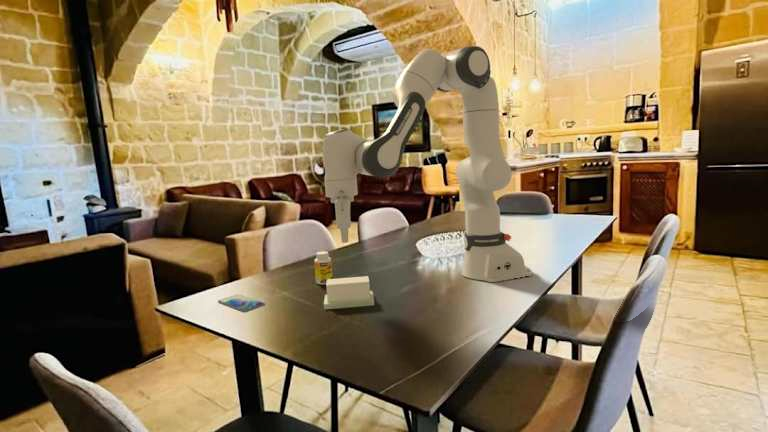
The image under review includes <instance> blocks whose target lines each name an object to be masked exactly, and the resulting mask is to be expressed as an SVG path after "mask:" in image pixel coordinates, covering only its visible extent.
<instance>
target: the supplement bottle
mask: <svg viewBox="0 0 768 432" xmlns="http://www.w3.org/2000/svg"><path fill="white" fill-rule="evenodd" d="M315 255H316V257H315V259H314V261H313V262H314V272H315V273H314V274H315V283H316V284H318V285H322V286H323V285H326V283H327V279H333V268H332V267H333V266H332V265H333V264H332V258H331V257H330V255H329V252H328V251H323V250H322V251H318V252H316V253H315Z"/></svg>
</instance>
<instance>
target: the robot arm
mask: <svg viewBox="0 0 768 432" xmlns="http://www.w3.org/2000/svg"><path fill="white" fill-rule="evenodd" d="M491 74H492V73H491V62H490V58H489V56H488V54H487V52H486V50H485V49H483V47H481V46H477V45H470V46H465V47H463V48H459V49H455V50H453V51H451V52H449V53H447V54H446V55H442V54H441V53H440V52H438V50H435V49H432V48H426V49H422V50H421V51H420V52H418V54H417V55H416V56H414V57H413V58H412V60H411V61H410V62H409V63H408V64H407V66H406V67H405V68H404V69H403V71H402V72H401V73H400V76H399V77H398V78H397V80H396V81H395V84H394V86H393V89H392V91H391V97H392V98H391V99H392V100H393V102H394V105H395V106H396V108H397V111H396V113H395V114H394V116H393V118H392V119H391V122H390V124H389V125H388V127H387V129H386V131H385V132H384V133H383V134H382V135H381V136H379V137H378V138H375V139H373V140H371V139H370V140H369V139H368V138H364V137H362V136H359V135H358V134H356V133H354V132H353V131H352V130H351V129H350V128H349V129H348V128H344V129H343V128H342V129H339V130H333V131H329V132H328V133H326V134H325V135H324V136H323V138H322V163H323V164H322V165H323V167H324V168H323V169H324V173H325V174H324V188H325V189H324V191H325V197H326V198H329V199H330V203H331V204H334V208H335V209H334V210H335V223H336V228H337V229H340V230H339V231H340V232H339V233H340V235H341V236H340V238H341V242H342V244H344V243H345V244H346V243H349V229H350V228H351V225H352V221H351V202H354V201H355V199H354V198H355V196H357V195H359V193H358V192H359V190H358V179H357V177H358V176H357V175H358V174H361V175H365V176H371V177H372V176H374V177H376V178H380V179H386V178H389V177H392V176H393V175H395V173H397V172H398V170H399V168H400V167H401V164H402V162H403V161H402V160H403V155H404V152H405V148H406V146H407V144H408V142H409V140H410V138H411V136H412V135H413V133H414V131H415V129H416V128H417V126H418V123H419V122H420V120H421V118H422V116H423V114H424V111H425V109H426V107H427V105H428V104H429V103H430V101H431V99H432V98H433V96H434V95H435V93H436V92H437V91H439V92H444V93H447V92H448V93H449V92H452V91H459V93H460V94H461V96H462V97H461V98H462V100H463V101H462V126H463V129H462V130H463V131H462V132H463V140H464V141H465V143H466V146H467V148H468V149H467V150H468V152H469V156H468V157H466V158H464V159H462V160H461V161H459V162H458V164H457V166H456V168H455V177H456V179H457V181H458V183H459V187H460V192H461V196H462V200H463V207H464V218H465V219H464V222H465V223H464V225H465V232H464V236H463V245H464V250H465V252H464V261H463V266H462V267H463V268H462V269H461V275H462V276H463V277H465V278H468V279H472V280H476V281H477V280H479V281H485V282H489V283H495V282H503V280H504V281H509V279H510V280H515V279H514V278H517V279H521V278H520V277H523V278H526V277H525V276H529V275H532V276H533V271H532V269H530V267H528V266H526V264H525V260H524V257H523V255H522V253H520V252H519V251H517V250H516V249H515V248H513V246H511V245H509V244H508V243H507V242H509V241H511V240H512V236H511V235H510V234H509V233H504V232H502V231H501V210H500V206H499V205H498V203H497V200H496V197H495V193H494V192H498V191H502V190H504V189H505V188H506V187H507V186H509V184H510V182H511V181H512V176H513V175H512V168H511V166H510V164H509V163H508V161H507V160H506V156H505V154H504V151H503V146H502V142H501V136H500V135H501V134H500V112H499V111H500V106H499V96H498V95H499V94H498V89H497V85H496V84H497V83H496V81H495V79H494V78H493V77H491ZM529 277H530V276H529Z"/></svg>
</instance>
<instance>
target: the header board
mask: <svg viewBox="0 0 768 432" xmlns="http://www.w3.org/2000/svg"><path fill="white" fill-rule="evenodd" d="M370 306H371V307H372V306H375V297H374V292H373V290H370V299H359V300H347V301H336V302H328V301H327V294H324V300H323V310H324V311H325V310H335V309H346V308H358V307H370Z"/></svg>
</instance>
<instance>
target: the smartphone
mask: <svg viewBox="0 0 768 432" xmlns="http://www.w3.org/2000/svg"><path fill="white" fill-rule="evenodd" d="M217 302H218V304H220V305H224V306H226V307H228V308H231V309H234V310H237V311H240V312H243V313H247V312H250V311H253V310H255V309H258V308H261V307H263V306H265V305H266V303H265V302H262V301H259V300H256V299H253V298H249V297H247V296H245V295H241V294H234V295H232V296H229V297H225V298H222V299H219V300H217Z"/></svg>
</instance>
